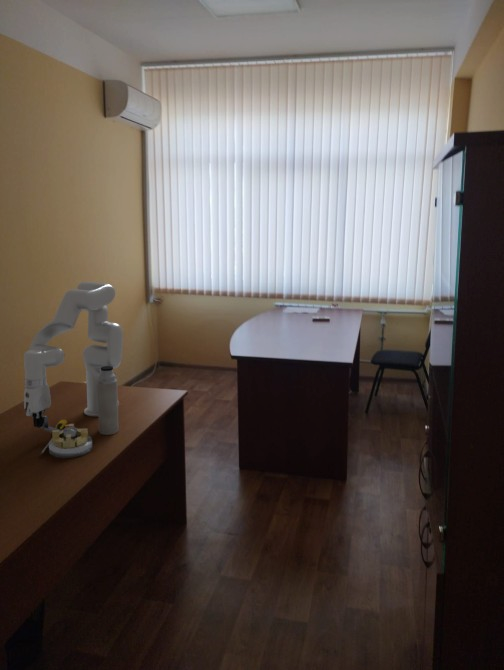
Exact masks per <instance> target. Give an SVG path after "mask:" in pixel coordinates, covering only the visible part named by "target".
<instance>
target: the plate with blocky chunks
mask: <svg viewBox="0 0 504 670" xmlns="http://www.w3.org/2000/svg"><path fill="white" fill-rule="evenodd" d="M67 424H68V423H67ZM69 424H70V423H69ZM69 424H68V425H65V429H63V436H64V438H63V439H64V440H66V436H67V434H71V439H75V438H78V437H77V427H76V426H74V427H69ZM48 443H49V446H48V452H49V454H50V455H51V456H52V457H55V458H59V459H70V458H77V457H81V456H84V455H86V454H88V453H89V452H91V450H93V438H92V437H91V435H89V434H88V442H86V443H85V444H83V445H81V446H78V447H76V446H75V448H63V447H62V448H59V447H57V446H54V445H53V444H52V440H51V439H50V440H49V442H48Z"/></svg>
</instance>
